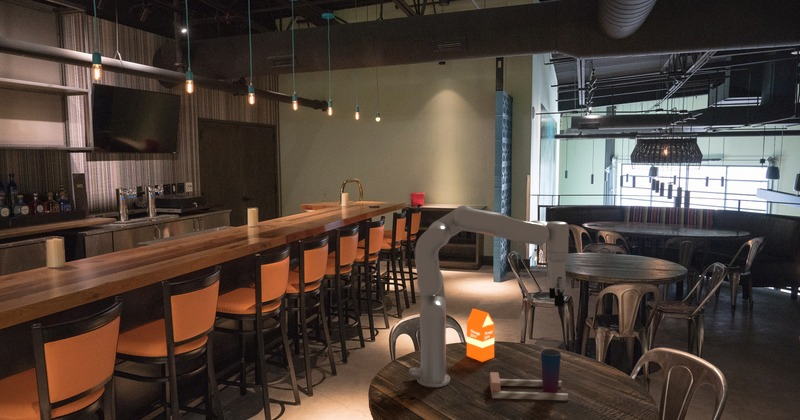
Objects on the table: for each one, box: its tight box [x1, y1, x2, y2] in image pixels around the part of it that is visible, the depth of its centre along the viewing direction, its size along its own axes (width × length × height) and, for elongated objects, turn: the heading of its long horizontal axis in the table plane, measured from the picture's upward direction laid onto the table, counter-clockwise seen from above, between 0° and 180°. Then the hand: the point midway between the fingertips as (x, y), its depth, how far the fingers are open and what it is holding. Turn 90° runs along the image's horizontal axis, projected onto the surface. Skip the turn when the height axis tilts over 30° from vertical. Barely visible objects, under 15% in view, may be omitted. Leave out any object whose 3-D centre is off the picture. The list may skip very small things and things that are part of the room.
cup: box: [540, 348, 562, 393], centre depth 184 cm, size 7×7×15 cm
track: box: [489, 371, 569, 401], centre depth 185 cm, size 26×11×5 cm, turn 84°
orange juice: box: [466, 308, 495, 363], centre depth 217 cm, size 8×9×20 cm
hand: (556, 302), depth 188 cm, fingers open, 9 cm apart
